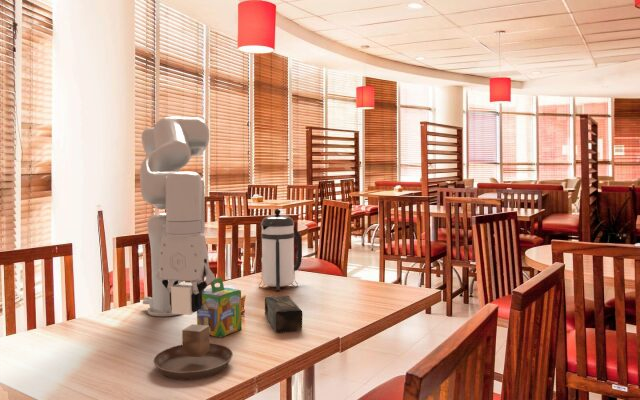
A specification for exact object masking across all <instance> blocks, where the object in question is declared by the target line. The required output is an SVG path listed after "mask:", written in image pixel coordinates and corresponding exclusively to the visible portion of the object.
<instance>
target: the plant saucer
mask: <svg viewBox="0 0 640 400" xmlns="http://www.w3.org/2000/svg"><path fill="white" fill-rule="evenodd" d="M233 355H234V354H233V350H231V349H230V348H229V347H227V346H225V345H224V344H223V345H222V344H219V343H211V342H210V351H209V352H207V353H206V354H205V355H203V356H202V357H191V356H183V344H179V345H174V346H171V347H169V348H166V349H164V350H162V351H160V352H158V353H157V354H156V355H155V356H154V358H153V364H154V366H155V367H156V369H157V370H158V371H159V372H161V374H162V375H163V376H164V377H167V378H169V379H173V380H180V381H181V380H183V381H186V380H192V381H193V380H199V379H205V378H208V377H211V376H215V375H216V374H219V373H220V372H222V371H223V370H224V369H225V368H226V367H227V366H228V365H229V363H230V362H231V361H232V358H233Z"/></svg>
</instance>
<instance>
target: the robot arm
mask: <svg viewBox="0 0 640 400" xmlns="http://www.w3.org/2000/svg"><path fill="white" fill-rule="evenodd" d="M141 142H142V143H141V144H142V147H143V150H144V153H145V154H146V156H145V158H144V159H143V161H142V162H141V164H140V169H139V183H140V184H139V185H140V187H139V188H140V194H141V197H142V199H143V200H144V201H145V202H146V203H147V204H150V205H152V206H153V207H154V208H156V209H157V210H163V211H165V212H160V213H155V214H153V215H151V216H150V217H149V218H148V220H147V225H146V226H147V235H148V239H149V246H150V256H151V257H150V258H151V259H150V260H151V291H152V295H151V296H152V297H151V296H144V298H143V300H142V304H143V305H149V307H148V308H147V314H148V315H150V316H153V317H173V316H178V315H180V314H172V304H171V286H174V285H176V284H179V283H181V282H190V283H191V284H192V288H193V293H194V294H192V296H191V298H192V312H194V313H197V311H198V310H200V309H201V306H202V291H204V290H206V289H207V287H208V286H209V285H211V283H212V282H213V281H214V280H215V279H217V278H216V276H215V274H214V273H213V271H212V270H211V268H210V264H209V262H210V261H209V253H208V245H207V241H206V237H205V226H206V225H205V224H206V223H205V222H206V218H205V217H206V216H205V213H206V212H205V211H206V210H205V209H206V208H205V206H206V203H205V202H206V199H205V198H206V195H205V194H206V193H205V188H206V187H205V181H204V178H202V176H201V175H200V173H198V172H196V171H187V170H185V171H181V169H182V168H184V167H185V166H186V165H188V164H189V162H190V160H191V157H198V156H201V155H202V154H203V153H204V151H205V150H206V149H207V147H208V145H209V142H210V130H209V127H208V125H207V122H206V121H205V120H204V119H202V118H200V117H194V116H193V117H189V116H188V117H187V116H186V117H185V116H183V117H182V116H166V117H162V118H160V119H159V120H157V121H156V122H155V125H154V127H153V126H152V127H148V128H145V129H144V130H143V131H142V133H141ZM204 278H205V279H204ZM203 279H204V280H203Z"/></svg>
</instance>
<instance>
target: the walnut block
mask: <svg viewBox="0 0 640 400" xmlns="http://www.w3.org/2000/svg"><path fill="white" fill-rule="evenodd" d="M181 331H182V332H181V333H182V345H183V356H191V357H202V356H203V355H205V354H206V353H207V352H209V351H210V343H211V342H210V335H209V326H206V325H197V324H194V323H193V324H192V323H191V324H190V325H188V326H186V327H185V328H184V329H181Z"/></svg>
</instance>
